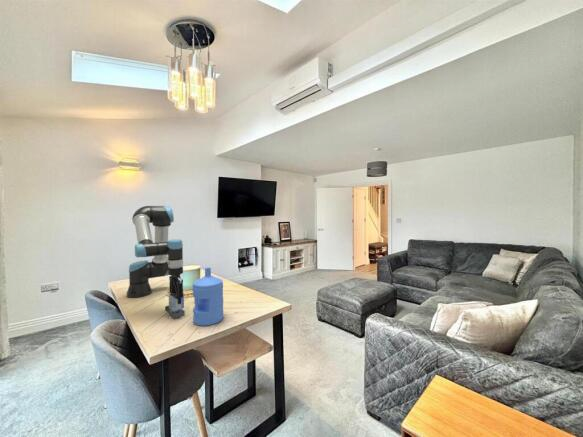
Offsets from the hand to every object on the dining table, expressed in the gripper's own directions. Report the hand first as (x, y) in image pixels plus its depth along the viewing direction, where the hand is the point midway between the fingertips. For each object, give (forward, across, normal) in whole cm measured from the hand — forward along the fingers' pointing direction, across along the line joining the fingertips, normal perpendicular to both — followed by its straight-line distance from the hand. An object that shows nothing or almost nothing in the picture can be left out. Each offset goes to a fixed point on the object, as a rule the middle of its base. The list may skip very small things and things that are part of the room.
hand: (176, 307), depth 137 cm
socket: (0, 0, 0) cm, 0 cm away
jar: (+5, -11, +20) cm, 23 cm away
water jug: (+5, +18, +10) cm, 21 cm away
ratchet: (+5, -5, 0) cm, 7 cm away
